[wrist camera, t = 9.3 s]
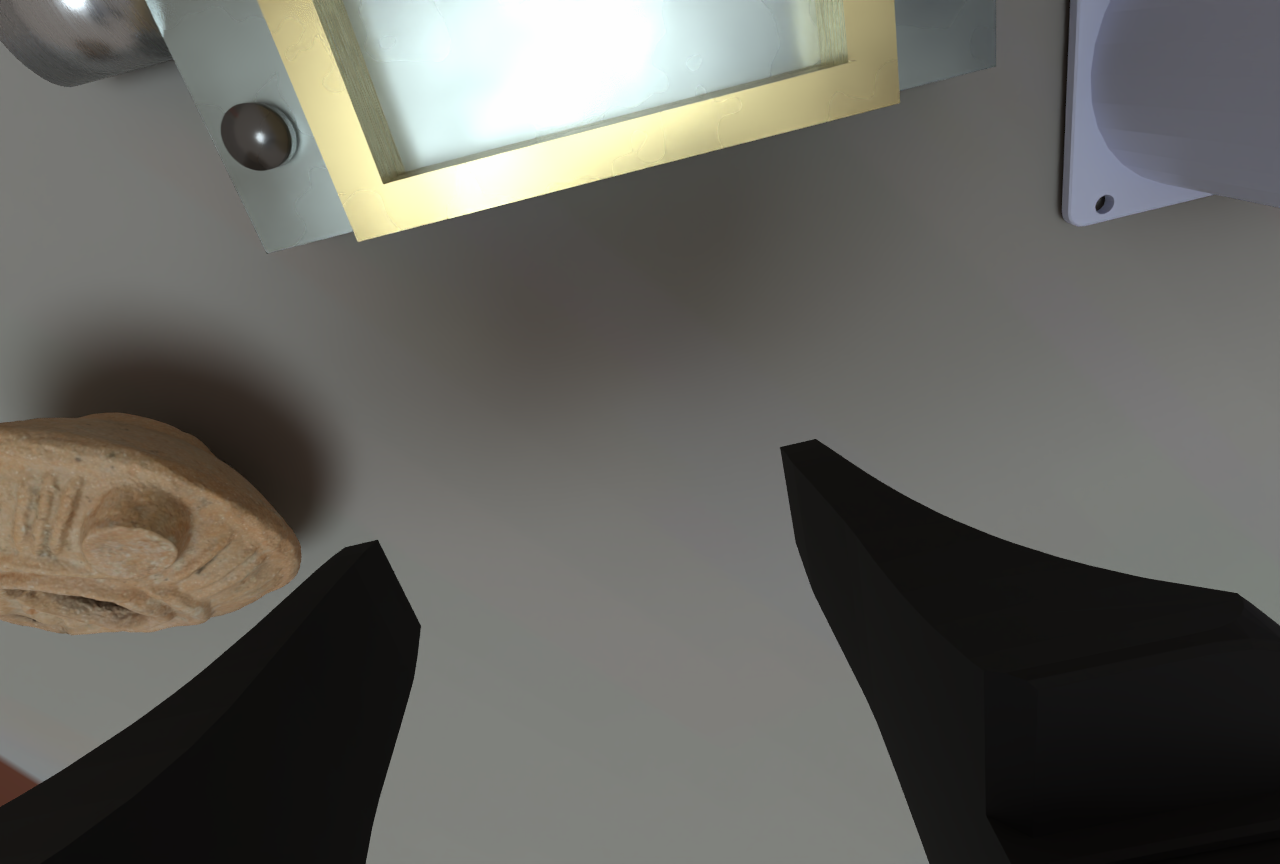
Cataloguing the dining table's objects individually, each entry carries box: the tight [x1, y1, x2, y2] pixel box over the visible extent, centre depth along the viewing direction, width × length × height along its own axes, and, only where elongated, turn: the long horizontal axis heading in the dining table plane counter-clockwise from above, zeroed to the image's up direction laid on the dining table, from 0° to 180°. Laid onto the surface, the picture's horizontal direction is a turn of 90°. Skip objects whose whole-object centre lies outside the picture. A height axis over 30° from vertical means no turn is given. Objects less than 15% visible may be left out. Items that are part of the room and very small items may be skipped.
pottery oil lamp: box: [0, 412, 301, 635], centre depth 20 cm, size 9×12×7 cm
